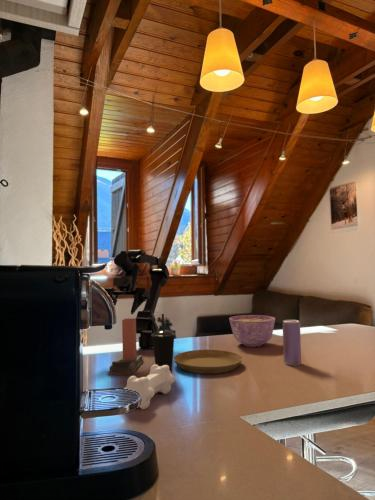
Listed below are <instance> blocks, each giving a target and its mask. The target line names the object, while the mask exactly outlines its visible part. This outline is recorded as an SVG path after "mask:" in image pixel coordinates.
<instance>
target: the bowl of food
mask: <svg viewBox="0 0 375 500" xmlns="http://www.w3.org/2000/svg"><path fill="white" fill-rule="evenodd" d="M228 319H229V324H230V329H231V332H232V335H233V338H234V339H235V340H236V341H237V342H239V343H240V344H243V346H245V347H253V348H255V347H256V346H257V347H261V345H262V346H263V345H264V344H266V343H267V342H269V341H270V340H271V338H273V337H272V336H273V332H274V327H275V322H276V317H274V316H270V315H261V314H260V315H259V314H244V315H234V316H230V317H229V318H228ZM257 347H256V348H257Z"/></svg>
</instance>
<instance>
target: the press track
mask: <svg viewBox="0 0 375 500" xmlns="http://www.w3.org/2000/svg"><path fill="white" fill-rule="evenodd" d="M137 357H138V358H137V359H136V360H135V361H134V362H133V363H129V361H121V360H122V359H123V355H122V356H121V357H120V358H118V359H117V360H115V361H114V360H113V361H112V363H111V364H112V365H110V366H109V371H108V372H107V375H108V376H109V375H110V376H111V375H113V376H117V375H119V376H123V375H124V376H133V375H134V373H135V372H136V371H137V370H138V369H139V368H140V367H141V365H142V364H143V363H144V359H143V355H141V354H140V355H139V356H137Z"/></svg>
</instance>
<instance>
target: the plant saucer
mask: <svg viewBox="0 0 375 500" xmlns="http://www.w3.org/2000/svg"><path fill="white" fill-rule="evenodd" d="M173 360H174V362H175V364H176V365H177V366H178V367H179V368H180V369H182V370H184V371H186V372H189V373H194V374H201V375H202V374H203V375H204V374H205V375H212V374H222V373H227V372H230V371H233V370H234V369H236V368H237V367H239V366H240V364H241V363H242V361H243V356H241V354H238V353H236V352H232V351H228V350H221V349H194V350H188V351H183V352H180V353H177V354H175V355H173Z"/></svg>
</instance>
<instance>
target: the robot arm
mask: <svg viewBox="0 0 375 500" xmlns="http://www.w3.org/2000/svg"><path fill="white" fill-rule="evenodd" d="M113 264H114V265H116V267H117V268H118V269H119V270H120V271H122V272H123V276H121V277H113V280H112V287H104V288H103V289H105V290H106V291H107V292H108V294H109V295H110V297H111V298H112V300H113V303H114V305H115V306H116V305H117V302H118V298H119V297H121V296H122V297H123V296H124V297H125V296H129V297H130V296H131V297H132V296H133V301H132V306H131V309H130V314H131V315H134V313H135V312H136V311H137V310H138V308H140V307H141V306H142V304H143V303H144V302H145V304H144V307H143V310H138V311H137V313H136V317H135V318H136V335H138V334H139V336H138V339H137V340H138V347H139V349H140V350H147V349H154V347H153V338H152V336H151V334H153V333H155V332H156V331H159V326H158V324H157V323H156V321H157V320H156V317H155V316H156V315H155V311H156V307H157V304H158V302H159V298H160V294H161V291H162V288H163V287H164V286H165V285H166V284H168V281H169V279H170V271H169V269H168V266H167V265H166V264H165V263H164V262H163V261H162V259H161V256H154V255H151V254H148V253H147V252H146V251H144V249H128V250H127V251H126V250H120V253H118V254H117V255H116V256H115V257H114V258H113ZM138 264H145V265H149V269H148V273H149V276H150V277H149V279H150V281H151V285H150V288H149V290H147V289H146V287H136V286H138V284H139V282H138V278H139V273H142V269H141V267H140V265H138ZM153 266H158V267H159V268H154V269H153ZM114 287H116V288H117V289H118V290H116V289H115V288H114Z"/></svg>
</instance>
